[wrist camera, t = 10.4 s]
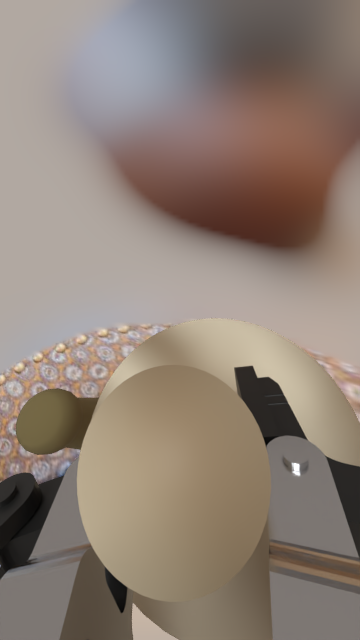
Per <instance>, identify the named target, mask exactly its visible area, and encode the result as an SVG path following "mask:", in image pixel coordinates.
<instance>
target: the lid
mask: <svg viewBox="0 0 360 640" xmlns="http://www.w3.org/2000/svg"><path fill="white" fill-rule="evenodd" d="M243 366H253V367H254V370H255V372H256V375H257V378H261V377H270V378H271V379H273V380H274V381H275V382H277V383H278V384H279V386H280V388H281V389H282V391H283V393H284V396H285V397H286V399H287V401H288V404H289V405H290V407H291V409H292V411H293V413H294V415H295V417H296V418H297V420H298V422H299V424H300V426H301V428H302V430H303V432H304V434H305V436H306V438H307V439H308V441H309V442H311V443H313V444H314V445H316V446H317V447H318V448H319V449H320V450H321V451H322V452H323V454H324V455H325V456H327V457H329V458H331V459H333V460H336V461H339V462H342V463H346V464H350V465H355V466H359V467H360V423H359V421H358V419H357V417H356V414H355V412H354V410H353V409H352V407H351V405H350V404H349V402H348V400H347V399H346V397H345V395H344V393H343V392H342V391H341V389H340V388H339V387H338V385H337V384H336V383H335V381H334V380H333V379H332V377H331V376H330V375H329V374H328V373H327V372H326V371H325V370H324V368H323V367H322V366H321V365H320V364H319V363H318V362H317V361H316V360H315V359H313V358H312V357H311V356H310V355H309V354H308V353H306V352H305V351H304V350H303V349H302V348H300V347H299V346H297V345H296V344H294V343H293V342H291V341H290V340H288V339H287V338H285V337H283V336H281V335H279V334H277V333H275V332H273V331H271V330H269V329H266V328H264V327H261V326H259V325H255V324H252V323H248V322H244V321H239V320H232V319H218V318H211V319H199V320H194V321H189V322H184V323H181V324H178V325H175V326H172V327H170V328H168V329H165V330H163V331H161V332H159V333H157V334H156V335H154V336H152V337H151V338H149V339H147V340H146V341H145V342H143V343H142V344H141V345H140V346H138V347H137V348H136V349H134V350H133V351H132V352H131V353H130V354H129V355H128V356H127V357H126V358H125V359H124V361H123V362H122V363H121V364H120V365H119V367H118V368H117V369H116V370H115V372H114V373H113V375H112V376H111V378H110V379H109V381H108V382H107V384H106V386H105V388H104V390H103V392H102V394H101V396H100V398H99V400H98V402H97V405H96V407H95V410H94V413H93V415H92V419H91V422H90V424H89V426H88V429H87V432H86V434H85V437H84V440H83V443H82V447H81V451H80V456H79V462H78V470H77V496H78V503H79V510H80V514H81V518H82V522H83V526H84V529H85V531H86V534H87V537H88V539H89V541H90V543H91V545H92V547H93V549H94V551H95V553H96V554H97V556H98V557H99V559H100V560H101V562H102V563H103V564H104V566H105V567H106V568H107V569H108V570H109V571H110V572H111V574H112V575H113V576H114V577H115V578H116V579H118V580H119V581H120V582H121V583H123V584H124V585H125V586H126V587H128V588H129V589H131V590H133V603H134V604H135V605H136V606H137V607H138V608H139V609H140V611H141V612H142V613H143V614H144V615H145V616H146V617H148V618H149V619H150V620H151V621H153V622H154V623H155V624H156V625H158V626H159V627H160V628H161V629H162V630H164V631H165V632H167V633H169V634H170V635H172V636H174V637H175V638H177V639H179V640H273V635H272V614H271V593H270V572H269V528H268V510H269V505H270V494H271V472H270V465H269V458H268V453H267V449H266V445H265V442H264V439H263V436H262V433H261V431H260V428H259V426H258V424H257V422H256V420H255V418H254V416H253V414H252V413H251V411H250V410H249V408H248V407H247V405H246V404H245V403H244V401H243V400H242V399H241V398H240V397H239V396H238V394H237V387H236V379H235V371H234V367H243Z"/></svg>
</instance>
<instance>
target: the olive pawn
mask: <svg viewBox="0 0 360 640" xmlns="http://www.w3.org/2000/svg"><path fill="white" fill-rule="evenodd" d="M98 400H99V398H77V397H76V396H75V395H73V394H72V393H71V392H69V391H66V390H62V389H48V390H45V391H42V392H40V393H38V394H36V395H35V396H33V397H32V398H31V399H30V400H28V402H27V403H26V404H25V405H24V406H23V408H22V410H21V412H20V414H19V416H18V419H17V423H16V435H17V438H18V441H19V443H20V444H21V445H22V446H23V448H24V449H25V450H27V451H29V452H31V453H34V454H37V455H42V454H52V453H54V452H57V451H59V450H61V449H63V448H65V447H67V448H74V449H80V450H81V447H82V443H83V440H84V437H85V434H86V432H87V429H88V426H89V424H90V422H91V419H92V415H93V413H94V410H95V407H96V405H97V402H98Z"/></svg>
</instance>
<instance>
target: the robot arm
mask: <svg viewBox="0 0 360 640" xmlns="http://www.w3.org/2000/svg"><path fill="white" fill-rule="evenodd" d="M234 371H235V379H236V387H237V394H238V396H239V397H240V398H241V399H242V400H243V401H244V403H245V404H246V405H247V407H248V408H249V410H250V411H251V413H252V414H253V416H254V418H255V420H256V422H257V424H258V426H259V428H260V431H261V433H262V436H263V439H264V442H265V445H266V449H267V453H268V458H269V465H270V472H271V494H270V505H269V510H268V528H269V572H270V593H271V614H272V635H273V640H360V467H359V466H355V465H350V464H346V463H342V462H339V461H336V460H333V459H331V458H329V457H327V456H325V455H324V454H323V452H322V451H321V450H320V449H319V448H318V447H317V446H316V445H314V444H313V443H311V442H309V441H308V439H307V438H306V436H305V434H304V432H303V430H302V428H301V426H300V424H299V422H298V420H297V418H296V417H295V415H294V413H293V411H292V409H291V407H290V405H289V404H288V401H287V399H286V397H285V396H284V393H283V391H282V389H281V388H280V386H279V384H278V383H277V382H275V381H274V380H273V379H271V378H270V377H261V378H257V375H256V372H255V370H254V367H253V366H243V367H234ZM78 462H79V457H78V458H77V459H76V460H75V461H74V462H73V463H72V464H71V465H70V466H69V468H68V469H67V471H66V473H65V475H64V476H62V477H59V478H56V479H53V480H50V481H47V482H44V483H42V484H39V485H38V484H37V482H36V480H35V478H34V476H33V475H32V474H30V473H20V474H16V475H13V476H11V477H9V478H7V479H6V480H4V481H2V482H1V483H0V565H1V567H0V640H133V634H132V603H133V590H131V589H129V588H128V587H126V586H125V585H124V584H123V583H121V582H120V581H119V580H118V579H116V578H115V577H114V576H113V575H112V574H111V572H110V571H109V570H108V569H107V568H106V567H105V566H104V564H103V563H102V562H101V560H100V559H99V557H98V556H97V554H96V553H95V551H94V549H93V547H92V545H91V543H90V541H89V539H88V537H87V534H86V531H85V529H84V526H83V522H82V518H81V514H80V510H79V503H78V496H77V470H78Z"/></svg>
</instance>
